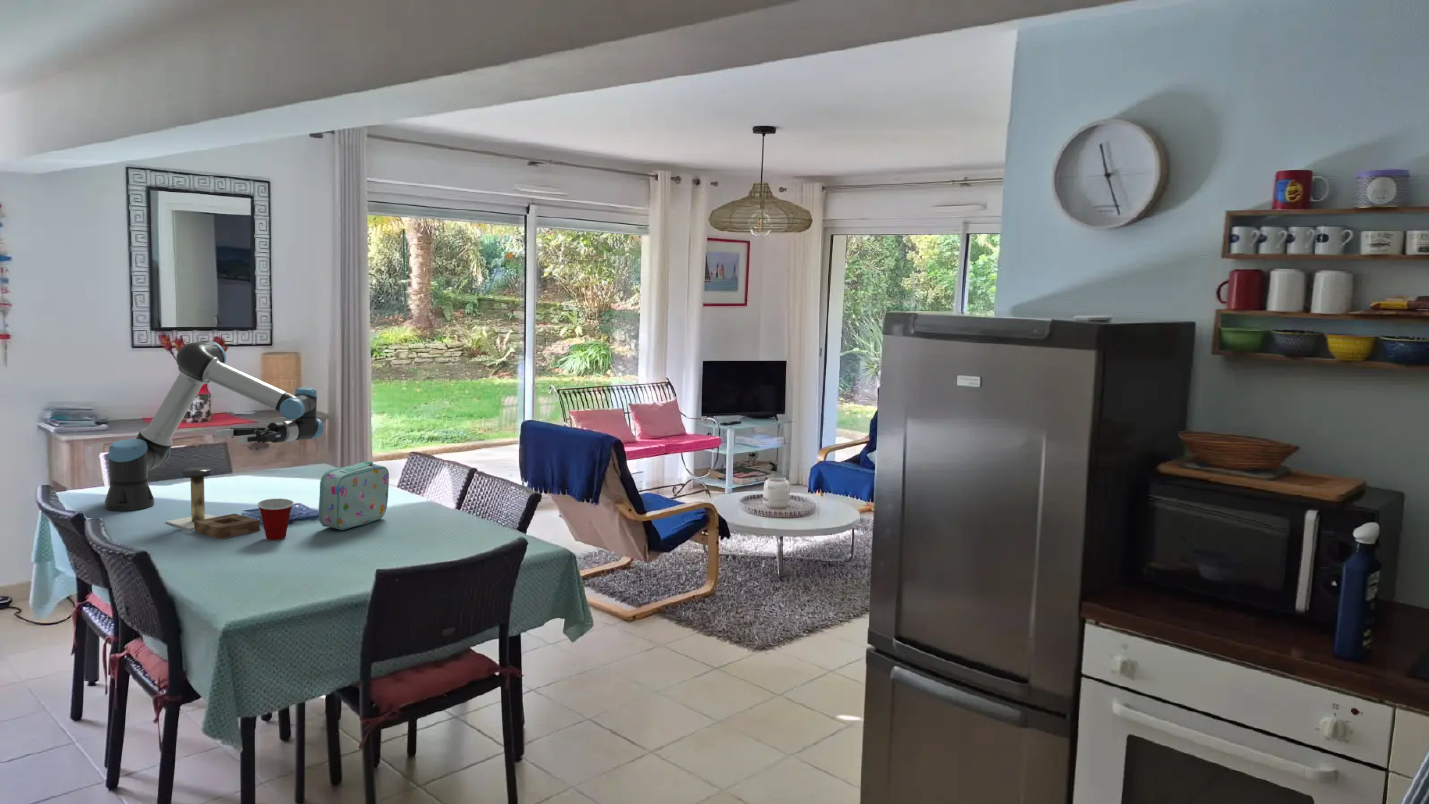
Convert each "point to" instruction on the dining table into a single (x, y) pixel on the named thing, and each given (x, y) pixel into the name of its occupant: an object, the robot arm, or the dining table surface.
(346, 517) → the lunch box
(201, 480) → the mushroom top post
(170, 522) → the pad
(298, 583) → the dining table surface
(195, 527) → the eye block
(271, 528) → the plastic cup
